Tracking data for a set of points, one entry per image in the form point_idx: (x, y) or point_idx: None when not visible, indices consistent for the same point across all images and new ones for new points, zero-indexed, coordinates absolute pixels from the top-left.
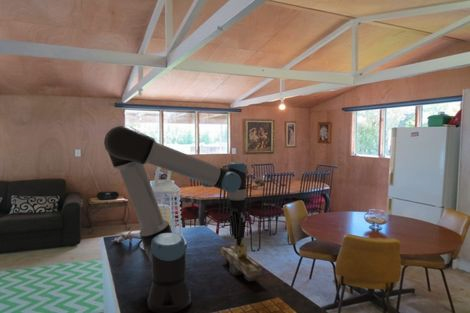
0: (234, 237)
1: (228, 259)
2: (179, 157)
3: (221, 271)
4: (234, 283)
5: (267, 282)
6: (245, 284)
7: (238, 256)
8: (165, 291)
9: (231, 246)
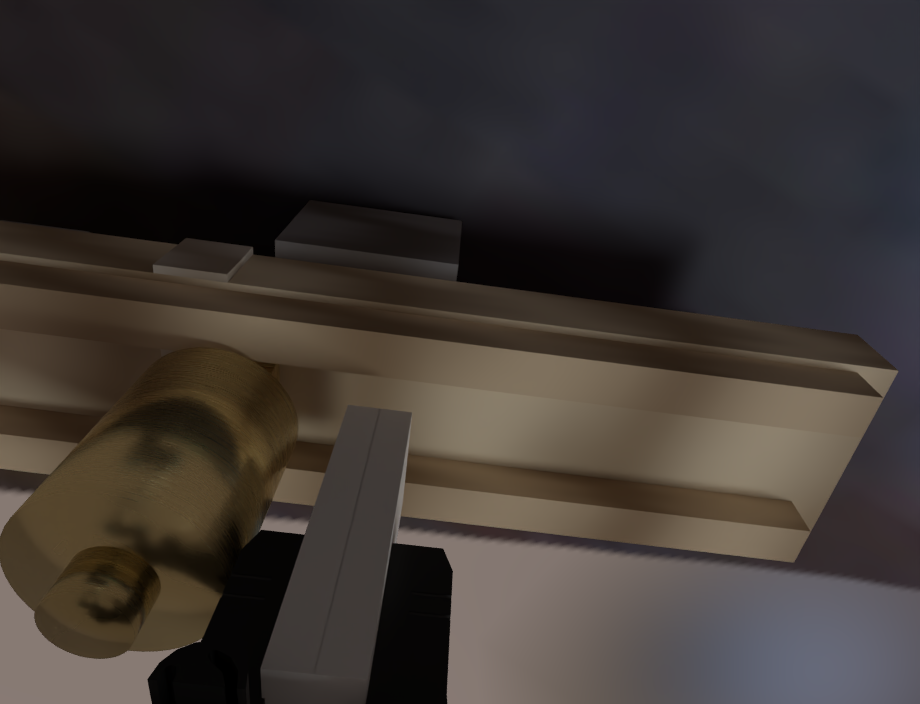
0: (238, 683)
1: (533, 298)
2: None
3: (538, 135)
4: (116, 83)
5: None
6: (47, 187)
7: (177, 366)
8: None
9: (778, 535)
